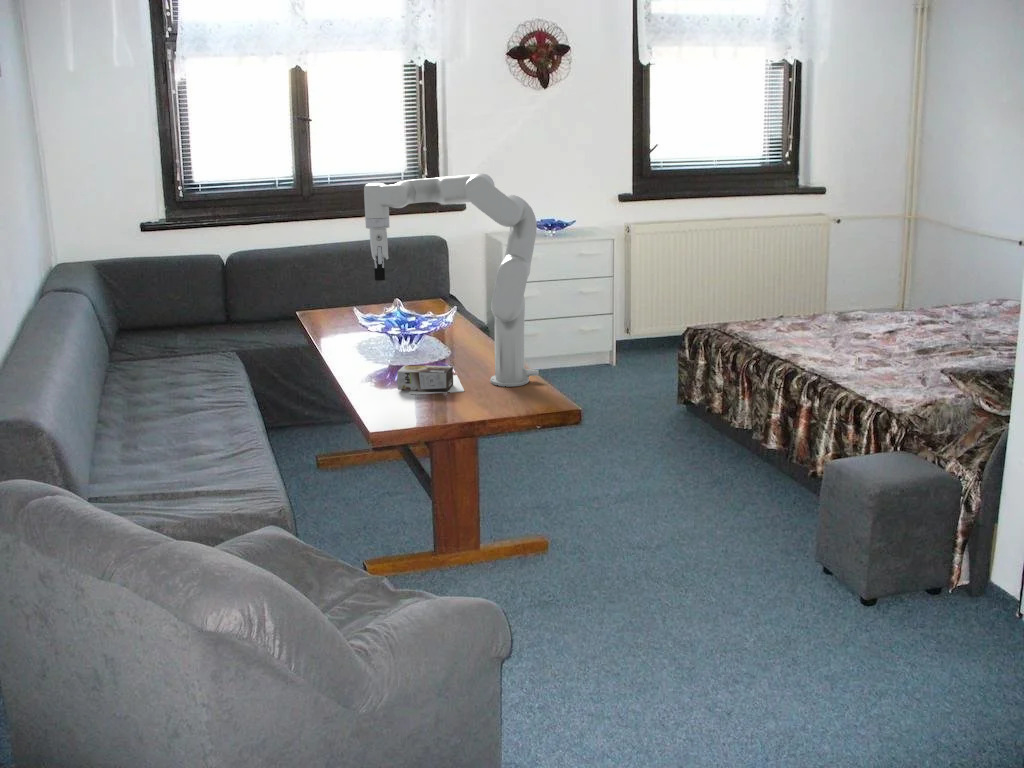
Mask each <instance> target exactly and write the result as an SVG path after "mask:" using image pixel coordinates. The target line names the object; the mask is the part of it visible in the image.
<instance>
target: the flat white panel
mask: <svg viewBox="0 0 1024 768" xmlns="http://www.w3.org/2000/svg"><path fill="white" fill-rule="evenodd" d="M408 391H409V394H410V395H411V394H416V395H429V394H445V393H444V392H432V391H413V390H408ZM448 392H450V393H463V392H465V390H464V387H463V385H462V383H461V381H460V378H459V377H458V375H457V374H453V386H452V387H451V388H450V389H449V390H448Z"/></svg>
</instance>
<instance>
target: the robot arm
mask: <svg viewBox="0 0 1024 768" xmlns="http://www.w3.org/2000/svg"><path fill="white" fill-rule="evenodd" d="M363 195H364V197H363V199H364V200H363V201H364V217H365V218H364V221H365V228H366V229H368V230H369V243H370V251H371V257H372V259H373V260H374V261H373V262H374V267H373V269H374V270H373V271H374V281H377V282H379V281H385V280H386V273H385V272H386V271H385V262H384V259H385V260H388V259H389V248H388V247H389V246H388V245H389V244H388V232H387V229H389V228H390V208H393V209H402V208H404V207H407V206H408V205H411V204H418V203H419V204H420V203H438V204H441V205H454V204H463V203H465V204H466V203H471V204H472V205H473V206H474V207H475V208H477V210H479V211H481V212H482V213H483V214H485V215H486V216H487V217H488V218H490V219H491V220H493V222H495V223H496V224H498V225H500V226H501V227H504V228H505V227H506V228H509V233H508V238H507V244H506V248H505V253H504V256H503V257H504V258H503V259H502V261H501V262H500V265H499V266H498V268H497V272H496V273H497V274H496V277H495V282H494V288H493V292H492V297H491V302H490V309H491V313H492V315H493V317H494V375H492V376H491V377H490V379H489V381H490V383H491V384H492V385H495V386H497V385H498V387H505V386H506V387H512V388H513V387H520V386H521V387H522V386H524V385H527V384H528V383H529V382H530V376H531V377H539V374H540V370H539V369H534V368H528V369H527V368H526V367H525V313H526V312H525V311H526V301H525V292H526V288H527V282H528V278H529V276H530V274H531V267H532V265H531V264H532V259H533V254H534V249H535V243H536V238H537V237H536V236H537V231H538V230H537V228H538V227H537V226H538V225H537V224H538V223H537V218H536V215H535V212H534V210H533V208H532V207H531V205H529V203H528V202H527V201H526V200H525V199H523V198H522V197H521V196H519V195H516V194H510V195H506V194H505V193H504V192H502V191H501V190H500V189H498V187H496V186H495V181H494V180H493V178H492V177H491V176H490V175H489V174H487V173H472V174H461V175H449V176H440V177H438V176H437V177H431V178H417V179H407V180H401V181H398V182H396V183H394V184H386V183H382V182H371V183H367V184H365V185H364V187H363Z"/></svg>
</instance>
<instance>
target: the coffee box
mask: <svg viewBox="0 0 1024 768" xmlns="http://www.w3.org/2000/svg"><path fill="white" fill-rule="evenodd" d="M453 369H454V368H453V366H449V365H422V364H421V365H420V364H404V365H403V366H402V367H401V368H400V369H399V370H397V373H396V374H397V390H398V391H399V390H400V391H409V390H413V391H432V392H448V390H449V389H450V388H451V387H452V386H453V375H454V372H453Z"/></svg>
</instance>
